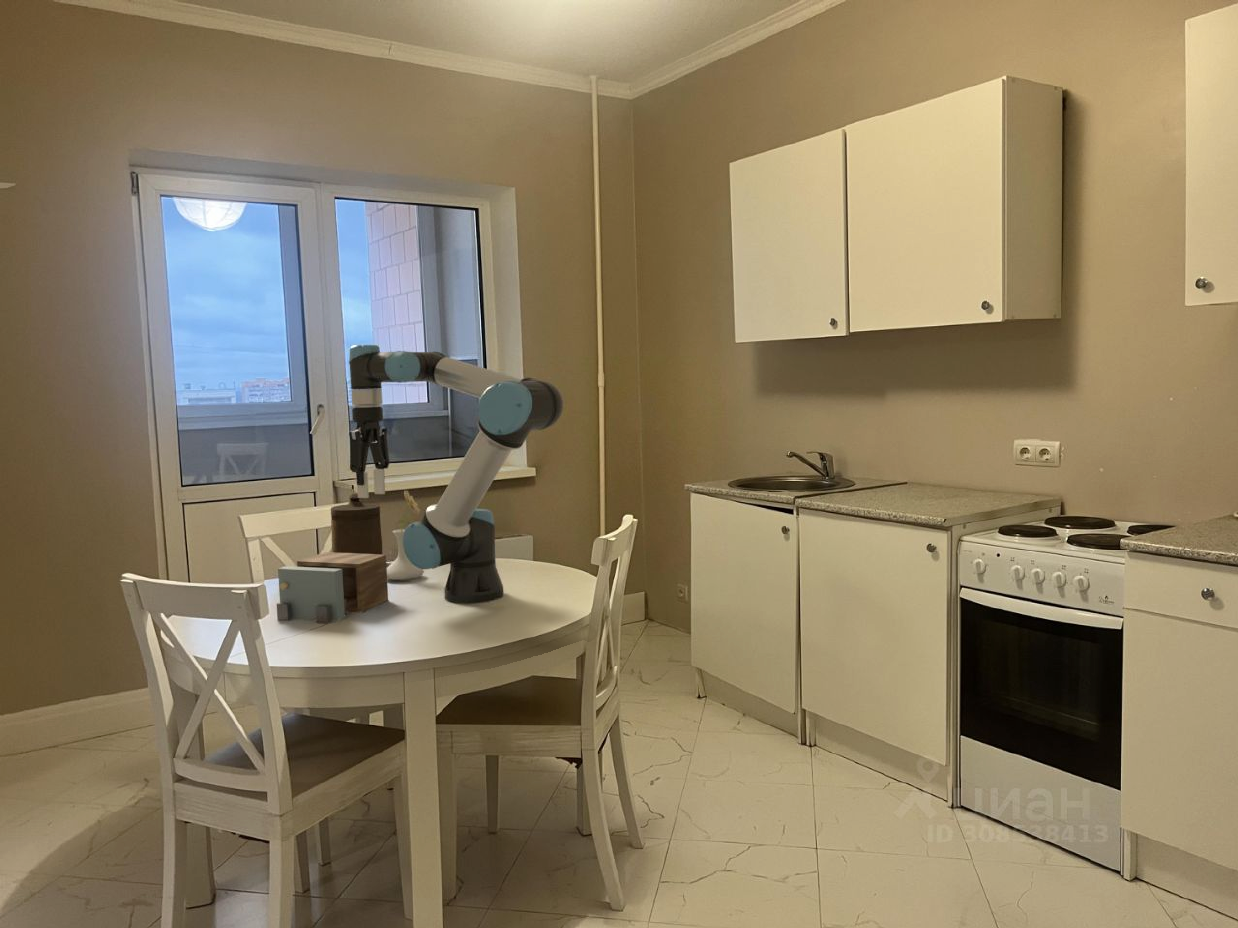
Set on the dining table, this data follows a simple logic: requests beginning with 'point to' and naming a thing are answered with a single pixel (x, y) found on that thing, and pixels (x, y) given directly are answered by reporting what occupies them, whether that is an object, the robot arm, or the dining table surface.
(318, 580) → the door
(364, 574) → the cabinet
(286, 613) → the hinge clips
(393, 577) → the flower in vase
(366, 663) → the dining table surface
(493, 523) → the robot arm
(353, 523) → the wooden container
